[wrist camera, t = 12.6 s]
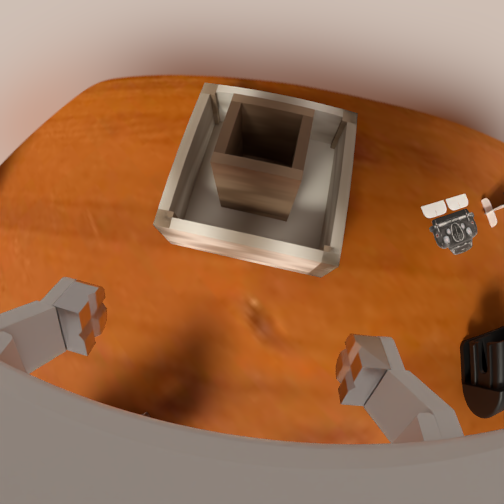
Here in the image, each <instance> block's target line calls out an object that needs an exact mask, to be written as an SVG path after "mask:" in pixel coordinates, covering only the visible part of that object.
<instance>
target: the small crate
mask: <svg viewBox="0 0 504 504" xmlns="http://www.w3.org/2000/svg"><path fill="white" fill-rule="evenodd" d="M314 112H315V109H311V108H306V107H302V106H298V105H293V104H289V103H284V102H279V101H274V100H269V99H264V98H259V97H253V96H247V95H241V94H235V93H234V94H233V97H232V100H231V102H230V105H229V108H228V111H227V114H226V116H225V119H224V122H223V125H222V128H221V131H220V134H219V137H218V140H217V143H216V146H215V149H214V152H213V155H212V158H211V161H210V163H211V167H212V171H213V175H214V179H215V184H216V188H217V192H218V196H219V200H220V205H221V207H224V208H229V209H233V210H238V211H242V212H247V213H251V214H256V215H260V216H265V217H269V218H273V219H278V220H282V221H286V222H287V219H288V217H289V214H290V211H291V209H292V206H293V203H294V200H295V198H296V195H297V192H298V189H299V187H300V184H301V181H302V176H303V171H304V166H305V160H306V155H307V150H308V145H309V139H310V134H311V129H312V123H313V118H314Z"/></svg>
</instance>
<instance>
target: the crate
mask: <svg viewBox="0 0 504 504" xmlns="http://www.w3.org/2000/svg"><path fill="white" fill-rule="evenodd" d="M234 93H235V94H241V95H247V96H253V97H259V98H264V99H269V100H274V101H279V102H284V103H289V104H293V105H298V106H302V107H306V108H311V109H315V112H314V118H313V123H312V129H311V134H310V139H309V145H308V150H307V155H306V160H305V166H304V171H303V176H302V181H301V184H300V187H299V189H298V192H297V195H296V198H295V200H294V203H293V206H292V209H291V211H290V214H289V217H288V219H287V222H286V221H282V220H278V219H273V218H269V217H265V216H260V215H256V214H251V213H247V212H242V211H238V210H233V209H229V208H224V207H221V205H220V200H219V196H218V192H217V188H216V184H215V179H214V175H213V171H212V167H211V163H210V161H211V158H212V155H213V152H214V149H215V146H216V143H217V140H218V137H219V134H220V131H221V128H222V125H223V122H224V119H225V116H226V114H227V111H228V108H229V105H230V102H231V100H232V97H233V94H234ZM357 114H358V113H354V112H351V111H347V110H344V109H340V108H336V107H332V106H328V105H325V104H320V103H316V102H312V101H308V100H304V99H299V98H294V97H290V96H285V95H280V94H275V93H270V92H264V91H258V90H253V89H246V88H240V87H233V86H226V85H219V84H211V83H205V84H204V86H203V88H202V91H201V93H200V96H199V98H198V100H197V103H196V105H195V108H194V110H193V113H192V115H191V118H190V120H189V123H188V125H187V128H186V131H185V133H184V136H183V138H182V141H181V144H180V146H179V149H178V152H177V155H176V157H175V160H174V163H173V166H172V169H171V171H170V174H169V177H168V180H167V183H166V186H165V189H164V192H163V195H162V198H161V201H160V204H159V208H158V211H157V214H156V217H155V220H154V224H153V225H154V226H155V227H156V228H157V229H158V230H159V231H160V233H161V234H162V235H163V236H164V237H165V238H166V239H167V240H168V241H169V242H170V243H171V244H175V245H180V246H184V247H188V248H193V249H197V250H201V251H206V252H210V253H214V254H219V255H223V256H228V257H232V258H236V259H241V260H245V261H250V262H254V263H258V264H263V265H267V266H272V267H276V268H281V269H285V270H290V271H294V272H299V273H303V274H308V275H312V276H317V277H323V276H324V275H326V274H327V273H329V272H331V271H332V270H334V269H335V268H337V267H338V266H339V261H340V255H341V249H342V243H343V236H344V230H345V223H346V216H347V209H348V201H349V193H350V185H351V177H352V168H353V159H354V149H355V138H356V127H357Z"/></svg>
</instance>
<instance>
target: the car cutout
mask: <svg viewBox="0 0 504 504" xmlns="http://www.w3.org/2000/svg"><path fill="white" fill-rule="evenodd" d="M503 194H504V193H503ZM445 200H446V202H447V205H448V207H449V208H450V209H451V210H457V209H460V208H463V207H466V206H467V205H468V199H467V197H466V194H462V195H458V196H455V197H452V198H448V199H445ZM481 202H482V204H483V207H484V209H485V212H486V213H485V214H487V217H488V220H489V222H490V225H491V227H494V226H496V224H497V218H496V216H495V213H494V211H496V210H498V209H501V208H503V207H504V205H501V206H499V207H497V208H495V209H493V208H492V205H491V203H490V201H489V199H487V198H484V199H483V200H481ZM458 203H459V204H458ZM421 209H422V211H423V214H424V215H425V217H427V218H433V217H436V216H439V215H442V214H444V213H446V210H447V208H446V205H445V203H444V200H442V201H439V202H435V203H432V204H429V205H425V206H422V207H421ZM436 213H437V214H436ZM466 213H467V214H466ZM473 217H474V214H473V213H469V211H468V210H467V209H463V210H461V211H458V212H455V213H452V214H449V215H446V216H443V217H440V218H437V219H435V220H433V221H432V224H433V226H431V227H430V228H429V229H430V232H433V234H434V237H435V240H436V243H437V244H438V246H439V247H441V248H443V249H445V248H447V247H448V248H449V249H450V250H451V252H452V253H453V254H460V253H463V252H465V251H467V250H469V249H470V248H471V247H472V238H473V237H474V236H476V234H477V226H476V223H475V221H474V219H473ZM436 224H437V225H436Z"/></svg>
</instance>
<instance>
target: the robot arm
mask: <svg viewBox="0 0 504 504" xmlns="http://www.w3.org/2000/svg"><path fill="white" fill-rule="evenodd" d="M104 299H105V291H104V288H103V287H101V286H98V285H94V284H90V283H87V282H83V281H80V280H76V279H72V278H69V277H63V278H62V279H61V280H60V281H59V282H58V283H57V284H56V285H55V286H54V287H53V288H52V289H51V290H50V291H49V292H48V294H47V295H46V296H45V297H44V298H43V299H42V300H41V301H40V302H39V301H34V302H31V303H29V304H26V305H23V306H21V307H18V308H15V309H12V310H10V311H7V312H4V313H2V314H0V504H504V429H500V430H496V431H491V432H486V433H480V434H475V435H469V436H464V435H463V432H462V429H461V427H460V424H459V421H458V419H457V416H456V414H455V411H454V410H453V409H452V408H451V407H450V406H449V405H448V404H446V403H445V402H444V401H443V400H442V399H441V398H440V397H438V396H437V395H436V394H435V393H434V392H433V391H432V390H430V389H429V388H428V387H427V386H426V385H425V384H424V383H422V382H421V381H420V380H419V379H418V378H417V377H416V376H414V375H413V374H412V373H411V372H410V371H405V368H404V366H403V363H402V360H401V358H400V355H399V353H398V350H397V348H396V345H395V343H394V340H393V339H392V338H391V337H381V336H377V337H376V336H367V335H359V334H350V335H349V336H348V337H347V339H346V341H345V345H346V349H344V350H343V351H341V352H340V354H339V356H338V359H337V363H336V379H337V380H338V381H339V382H340V383H341V384H340V386H339V388H338V391H339V397H340V403H341V404H344V405H357V406H364V408H365V410H366V411H367V412H368V414H369V415H370V416H371V417H372V419H373V420H374V421H375V423H376V424H377V425H378V427H379V428H380V429H381V430H382V432H383V433H384V434H385V436H386V437H387V438H388V440H389V441H390V442H391V443H390V444H321V443H303V442H290V441H279V440H269V439H260V438H252V437H245V436H238V435H232V434H225V433H219V432H214V431H208V430H203V429H198V428H193V427H188V426H184V425H179V424H175V423H171V422H166V421H162V420H158V419H154V418H151V417H147V416H143V415H140V414H136V413H132V412H129V411H126V410H122V409H119V408H116V407H113V406H110V405H106V404H103V403H100V402H97V401H95V400H92V399H89V398H86V397H83V396H80V395H78V394H75V393H72V392H70V391H67V390H65V389H62V388H60V387H57V386H55V385H52V384H50V383H48V382H45V381H43V380H41V379H38V378H36V377H34V376H31V375H29V373H31V372H33V371H34V370H36V369H37V368H39V367H41V366H42V365H44V364H45V363H47V362H49V361H50V360H52V359H54V358H55V357H57V356H58V355H60V354H62V353H63V352H65V351H66V350H69V351H73V352H76V353H79V354H82V355H86V356H88V355H89V353H90V351H91V350H92V348H93V346H94V345H95V343H96V342H95V337H96V336H98V335H100V334H101V333H102V332H103V330H104V328H105V324H106V321H107V308H106V307H105V305H104V304H103V303H102V302H103V300H104Z"/></svg>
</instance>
